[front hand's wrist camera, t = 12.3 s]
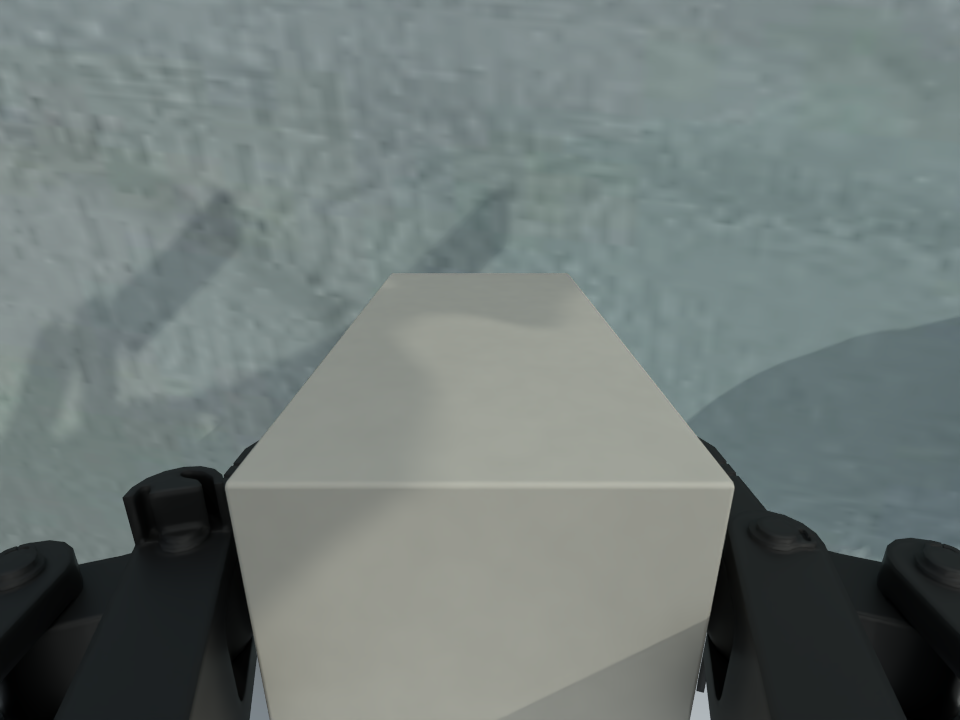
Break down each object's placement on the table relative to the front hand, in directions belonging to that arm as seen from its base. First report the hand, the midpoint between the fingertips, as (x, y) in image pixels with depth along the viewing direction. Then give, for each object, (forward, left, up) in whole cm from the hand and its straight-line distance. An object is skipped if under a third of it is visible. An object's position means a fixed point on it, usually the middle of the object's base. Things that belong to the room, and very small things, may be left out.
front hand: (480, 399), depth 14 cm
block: (0, 0, -3) cm, 3 cm away
